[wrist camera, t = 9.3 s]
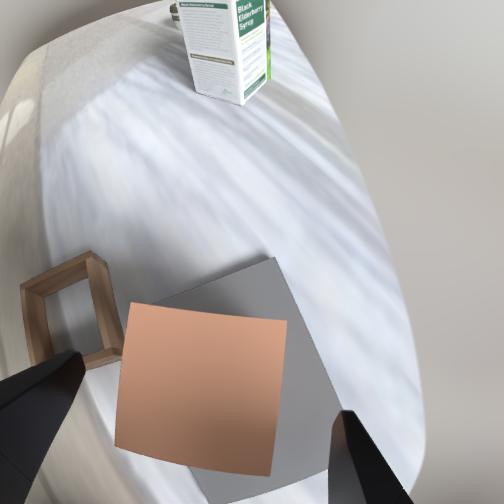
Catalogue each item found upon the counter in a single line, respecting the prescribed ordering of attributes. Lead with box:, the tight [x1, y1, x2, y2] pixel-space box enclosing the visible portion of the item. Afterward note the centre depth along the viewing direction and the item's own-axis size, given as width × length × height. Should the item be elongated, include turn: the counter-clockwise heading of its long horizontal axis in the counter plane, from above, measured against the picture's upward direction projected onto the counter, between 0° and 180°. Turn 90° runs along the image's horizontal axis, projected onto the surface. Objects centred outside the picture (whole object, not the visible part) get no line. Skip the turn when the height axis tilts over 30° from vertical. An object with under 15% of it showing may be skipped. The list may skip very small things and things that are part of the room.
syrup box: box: [176, 0, 271, 106], centre depth 20 cm, size 6×6×14 cm
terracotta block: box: [114, 302, 287, 477], centre depth 12 cm, size 5×5×9 cm
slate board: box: [152, 257, 343, 504], centre depth 17 cm, size 14×10×1 cm
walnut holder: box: [20, 251, 125, 371], centre depth 17 cm, size 7×7×2 cm
